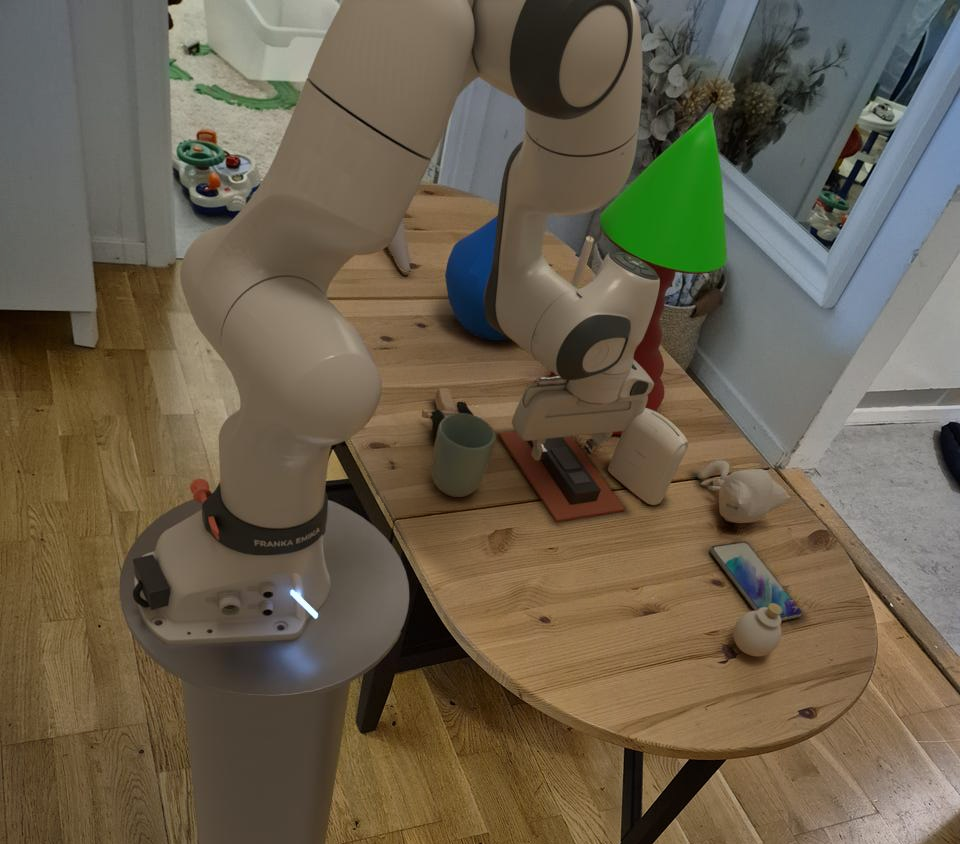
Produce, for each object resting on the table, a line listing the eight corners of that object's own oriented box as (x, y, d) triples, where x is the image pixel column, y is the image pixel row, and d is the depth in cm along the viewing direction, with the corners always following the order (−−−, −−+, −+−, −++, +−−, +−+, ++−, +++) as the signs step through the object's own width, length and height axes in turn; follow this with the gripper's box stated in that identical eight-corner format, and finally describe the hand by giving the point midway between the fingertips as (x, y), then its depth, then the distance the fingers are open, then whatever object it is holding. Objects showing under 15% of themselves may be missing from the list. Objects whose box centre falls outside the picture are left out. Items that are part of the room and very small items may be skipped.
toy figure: (408, 405, 130) (441, 464, 121) (418, 370, 125) (453, 427, 117) (448, 408, 133) (484, 464, 124) (459, 373, 129) (497, 429, 120)
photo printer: (601, 470, 129) (629, 403, 120) (619, 462, 132) (647, 396, 122) (649, 509, 125) (681, 444, 116) (666, 500, 128) (699, 436, 119)
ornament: (718, 632, 112) (751, 581, 104) (763, 627, 114) (799, 578, 107) (737, 667, 108) (774, 618, 101) (784, 662, 111) (823, 614, 103)
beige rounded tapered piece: (673, 506, 134) (734, 533, 122) (679, 456, 131) (743, 478, 118) (720, 501, 138) (785, 526, 126) (727, 451, 134) (795, 472, 122)
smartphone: (746, 540, 124) (805, 613, 116) (743, 544, 125) (801, 617, 117) (708, 545, 121) (766, 621, 113) (706, 549, 122) (763, 625, 114)
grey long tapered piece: (448, 254, 154) (401, 173, 165) (406, 254, 150) (360, 171, 161) (438, 291, 160) (393, 210, 171) (397, 291, 157) (354, 208, 167)
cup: (491, 491, 120) (507, 436, 113) (455, 512, 116) (469, 456, 108) (452, 462, 123) (466, 406, 115) (416, 481, 118) (427, 424, 111)
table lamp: (678, 420, 143) (811, 140, 109) (600, 449, 133) (720, 150, 99) (601, 358, 151) (703, 78, 117) (522, 380, 140) (609, 81, 107)
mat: (556, 522, 119) (556, 519, 119) (498, 435, 129) (498, 432, 129) (623, 511, 124) (624, 508, 124) (562, 428, 134) (563, 425, 134)
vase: (532, 308, 157) (579, 139, 135) (539, 362, 145) (592, 186, 123) (437, 290, 154) (469, 114, 131) (437, 344, 142) (472, 160, 120)
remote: (596, 501, 123) (601, 488, 121) (570, 505, 121) (575, 492, 120) (551, 438, 131) (555, 425, 129) (526, 440, 129) (530, 428, 127)
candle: (579, 325, 157) (606, 245, 145) (553, 320, 156) (577, 238, 144) (578, 311, 160) (603, 232, 148) (552, 306, 159) (576, 225, 148)
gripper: (539, 392, 107) (513, 475, 118) (664, 383, 116) (629, 461, 126) (518, 364, 111) (494, 447, 121) (641, 357, 119) (609, 435, 130)
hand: (564, 454), depth 124 cm, fingers open, 8 cm apart
